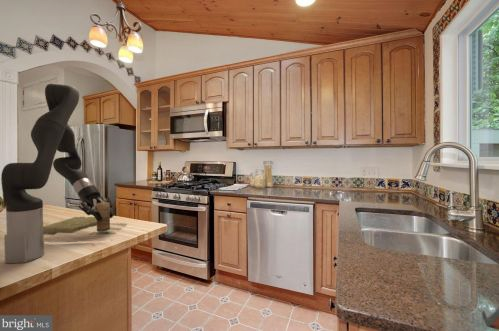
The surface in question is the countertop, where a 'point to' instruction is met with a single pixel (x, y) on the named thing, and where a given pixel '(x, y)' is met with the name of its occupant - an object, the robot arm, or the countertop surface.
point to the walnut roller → (103, 216)
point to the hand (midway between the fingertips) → (106, 218)
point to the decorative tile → (70, 225)
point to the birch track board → (113, 230)
